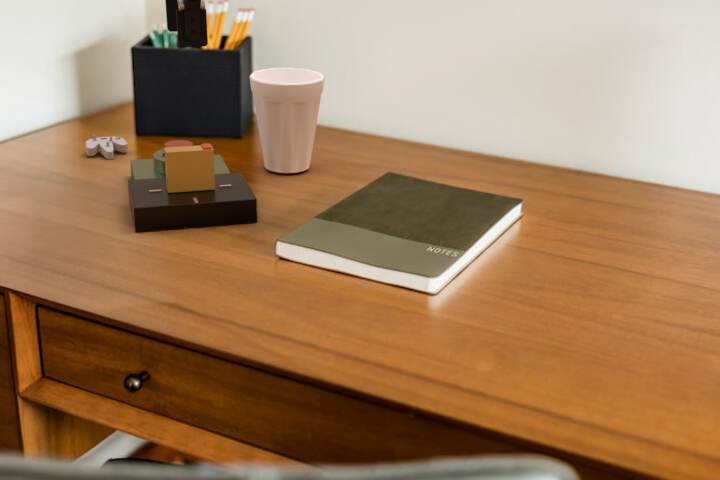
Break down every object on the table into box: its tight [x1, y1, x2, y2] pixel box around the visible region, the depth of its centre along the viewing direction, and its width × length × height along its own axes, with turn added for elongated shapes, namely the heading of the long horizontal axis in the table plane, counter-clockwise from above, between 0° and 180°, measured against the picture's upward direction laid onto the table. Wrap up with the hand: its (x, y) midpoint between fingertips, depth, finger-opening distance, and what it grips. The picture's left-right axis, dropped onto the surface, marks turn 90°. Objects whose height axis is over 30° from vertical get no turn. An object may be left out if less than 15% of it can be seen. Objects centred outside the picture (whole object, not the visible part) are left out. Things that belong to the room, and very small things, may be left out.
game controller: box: [85, 133, 129, 160], centre depth 130 cm, size 6×12×3 cm, turn 45°
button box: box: [129, 148, 231, 180], centre depth 117 cm, size 12×9×4 cm
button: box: [164, 139, 194, 148], centre depth 116 cm, size 4×4×2 cm
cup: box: [249, 67, 326, 174], centre depth 122 cm, size 10×10×13 cm
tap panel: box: [127, 172, 258, 233], centre depth 108 cm, size 14×10×3 cm
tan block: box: [163, 142, 215, 193], centre depth 106 cm, size 6×2×5 cm, turn 107°
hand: (186, 38), depth 104 cm, fingers open, 9 cm apart
